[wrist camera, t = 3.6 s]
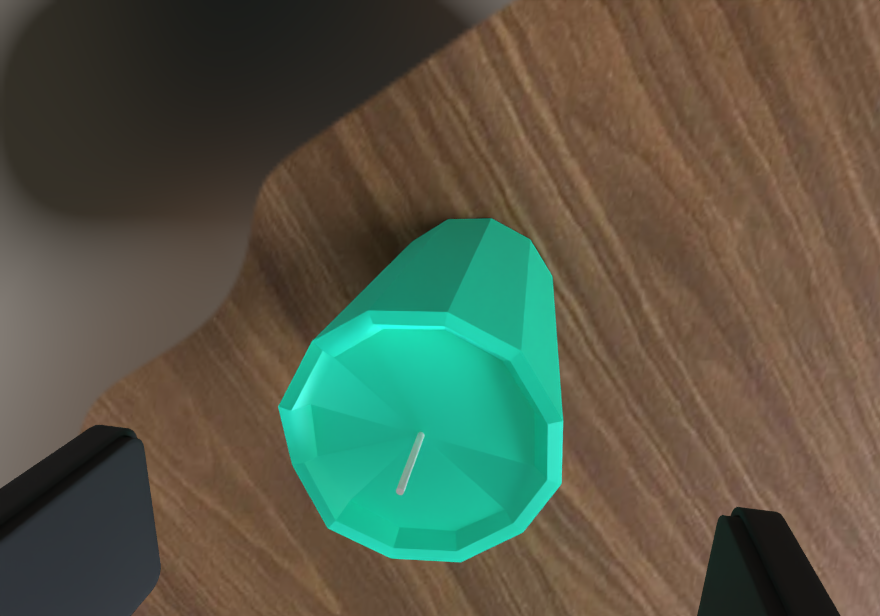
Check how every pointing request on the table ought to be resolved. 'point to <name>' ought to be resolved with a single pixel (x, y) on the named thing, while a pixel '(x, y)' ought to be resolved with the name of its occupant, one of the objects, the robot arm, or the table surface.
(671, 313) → the table surface
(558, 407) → the candle
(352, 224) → the table surface
